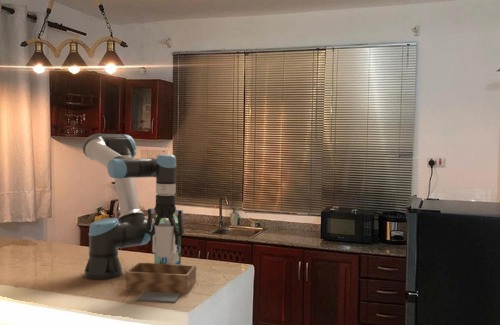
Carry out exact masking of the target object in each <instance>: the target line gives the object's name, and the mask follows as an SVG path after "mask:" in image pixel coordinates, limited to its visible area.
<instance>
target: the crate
mask: <svg viewBox="0 0 500 325" xmlns="http://www.w3.org/2000/svg"><path fill="white" fill-rule="evenodd" d="M196 283H197V265H196V264H195V265H194V264H193V265H192V264H181V265H177V264H157V263H154V262H137V263H136V264H135V265H134V266H132V267H131V268H130V269H128V270H127V271H126V272H125V291H131V292H158V293H175V294H181V295H183V294H185V295H188V294H189V293H190V292H191V291H192V289H193V287H194V286H195V285H196Z"/></svg>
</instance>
